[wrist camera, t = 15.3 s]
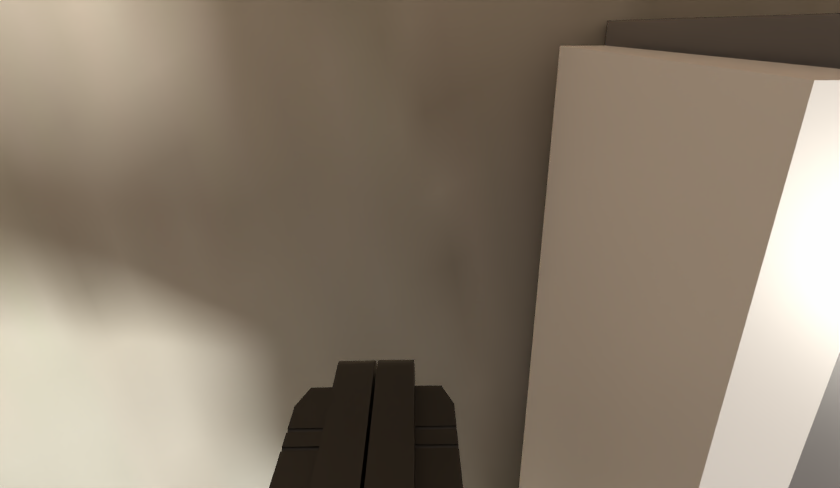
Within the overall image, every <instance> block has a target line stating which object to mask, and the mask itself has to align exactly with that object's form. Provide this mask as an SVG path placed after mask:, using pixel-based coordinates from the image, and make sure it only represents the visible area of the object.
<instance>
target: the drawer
mask: <svg viewBox="0 0 840 488" xmlns="http://www.w3.org/2000/svg"><path fill="white" fill-rule="evenodd" d="M839 353H840V69H837V68H827V67H817V66H807V65H797V64H787V63H777V62H767V61H757V60H747V59H737V58H727V57H717V56H707V55H697V54H687V53H677V52H666V51H656V50H646V49H636V48H626V47H616V46H606V45H599V46H560V50H559V61H558V72H557V83H556V93H555V104H554V115H553V126H552V137H551V147H550V158H549V169H548V180H547V191H546V201H545V212H544V223H543V234H542V245H541V256H540V266H539V277H538V288H537V299H536V310H535V320H534V331H533V342H532V353H531V364H530V374H529V385H528V396H527V407H526V418H525V428H524V439H523V450H522V461H521V472H520V482H519V488H788V487H789V485H790V482H791V479H792V477H793V474H794V471H795V469H796V466H797V464H798V461H799V458H800V456H801V453H802V450H803V448H804V445H805V442H806V440H807V437H808V434H809V432H810V429H811V427H812V424H813V421H814V419H815V416H816V413H817V411H818V408H819V405H820V403H821V400H822V397H823V395H824V392H825V390H826V387H827V384H828V382H829V379H830V376H831V374H832V371H833V368H834V366H835V363H836V361H837V358H838V355H839Z"/></svg>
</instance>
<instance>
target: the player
mask: <svg viewBox="0 0 840 488" xmlns="http://www.w3.org/2000/svg"><path fill="white" fill-rule="evenodd" d="M605 45H606V46H616V47H626V48H636V49H646V50H656V51H666V52H677V53H687V54H697V55H707V56H717V57H727V58H737V59H747V60H757V61H767V62H777V63H787V64H797V65H807V66H817V67H827V68H837V69H840V13H836V14H804V15H773V16H742V17H710V18H679V19H647V20H616V21H608V23H607V31H606V39H605ZM788 488H840V353H839V355H838V358H837V361H836V363H835V366H834V368H833V371H832V374H831V376H830V379H829V382H828V384H827V387H826V390H825V392H824V395H823V397H822V400H821V403H820V405H819V408H818V411H817V413H816V416H815V419H814V421H813V424H812V427H811V429H810V432H809V434H808V437H807V440H806V442H805V445H804V448H803V450H802V453H801V456H800V458H799V461H798V464H797V466H796V469H795V471H794V474H793V477H792V479H791V482H790V485H789V487H788Z"/></svg>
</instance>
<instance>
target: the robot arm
mask: <svg viewBox="0 0 840 488" xmlns="http://www.w3.org/2000/svg"><path fill="white" fill-rule="evenodd" d="M269 488H463V484H462V474H461V465H460V455H459V449H458V437H457V430H456V418H455V408H454V403H453V402H452V400H451V399H450V397H449V396H448V394H447V393H446V391H445V390H444V389H443V387H442V386H415V367H414V360H378V364H377V363H376V360H372V361H339V363H338V366H337V370H336V375H335V379H334V383H333V387H328V388H311V389H310V390H309V391H308V392H307V393H306V394H305V395H304V397H303V398H302V399H301V400H300V401H299V402H298V403H297V404H296V406H295V407H294V410H293V414H292V417H291V420H290V423H289V426H288V433H286V436H285V439H284V442H283V445H282V452H280V455H279V458H278V461H277V464H276V468H275V471H274V474H273V477H272V480H271V483H270V487H269Z"/></svg>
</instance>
